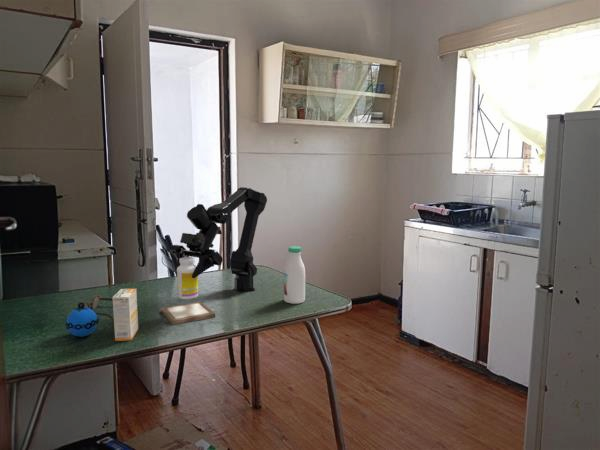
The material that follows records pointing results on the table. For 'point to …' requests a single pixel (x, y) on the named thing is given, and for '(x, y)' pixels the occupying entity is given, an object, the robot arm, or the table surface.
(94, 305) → the eyeglasses
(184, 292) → the supplement bottle
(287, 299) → the milk bottle
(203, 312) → the walnut picture frame
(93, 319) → the ornament
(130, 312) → the supplement box
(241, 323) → the table surface
